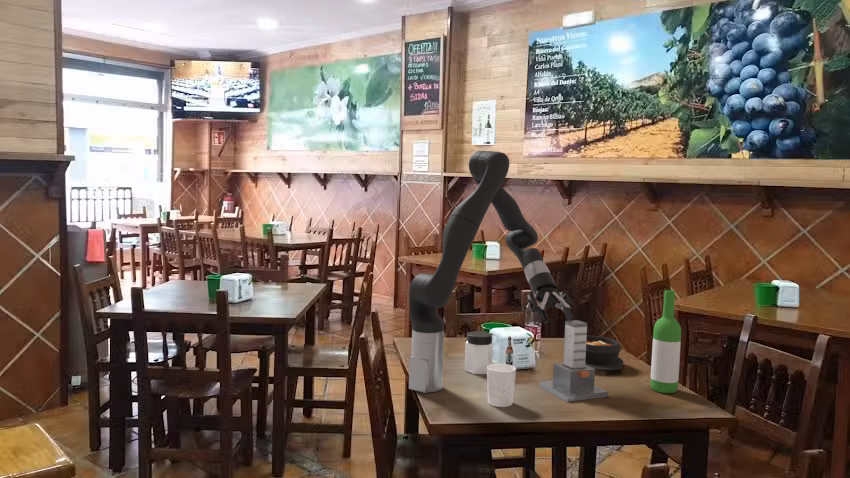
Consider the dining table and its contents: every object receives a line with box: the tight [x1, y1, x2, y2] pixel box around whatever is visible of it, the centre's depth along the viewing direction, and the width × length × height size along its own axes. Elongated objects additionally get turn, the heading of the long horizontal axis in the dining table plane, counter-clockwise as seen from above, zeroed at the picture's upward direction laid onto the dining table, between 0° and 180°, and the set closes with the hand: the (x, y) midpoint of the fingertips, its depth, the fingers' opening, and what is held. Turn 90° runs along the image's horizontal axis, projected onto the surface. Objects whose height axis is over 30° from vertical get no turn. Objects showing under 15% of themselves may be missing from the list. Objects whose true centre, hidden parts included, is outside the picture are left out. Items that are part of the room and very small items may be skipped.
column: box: [562, 319, 588, 370], centre depth 184 cm, size 5×5×19 cm
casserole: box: [585, 335, 624, 371], centre depth 214 cm, size 25×19×8 cm
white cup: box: [486, 363, 517, 408], centre depth 173 cm, size 8×8×10 cm
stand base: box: [538, 362, 609, 403], centre depth 185 cm, size 14×14×8 cm
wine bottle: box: [649, 289, 682, 394], centre depth 188 cm, size 8×8×30 cm
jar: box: [464, 330, 494, 375], centre depth 203 cm, size 9×8×12 cm
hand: (559, 321), depth 191 cm, fingers open, 8 cm apart
